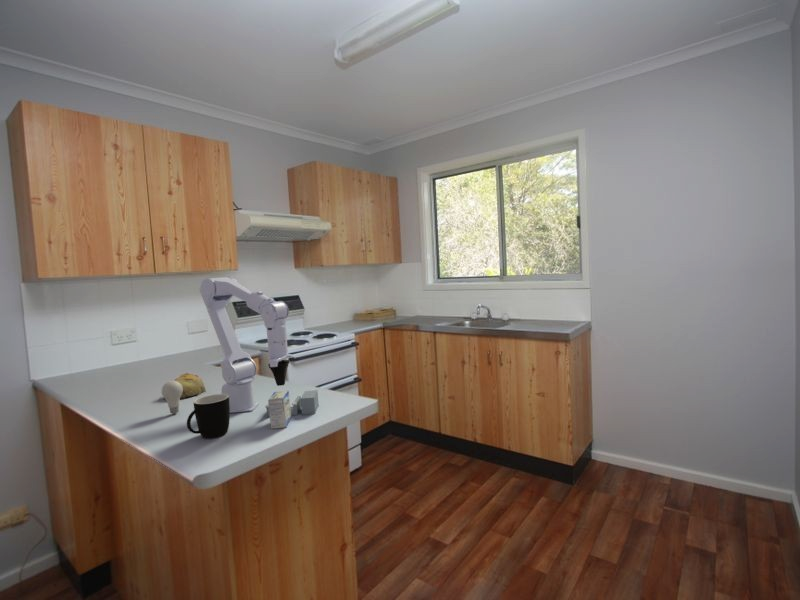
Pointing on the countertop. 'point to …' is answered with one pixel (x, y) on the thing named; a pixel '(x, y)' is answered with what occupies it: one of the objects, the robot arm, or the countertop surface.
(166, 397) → the lightbulb
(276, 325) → the robot arm
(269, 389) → the countertop surface
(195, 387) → the pastry
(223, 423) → the mug
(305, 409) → the dispenser
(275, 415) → the medicine box
